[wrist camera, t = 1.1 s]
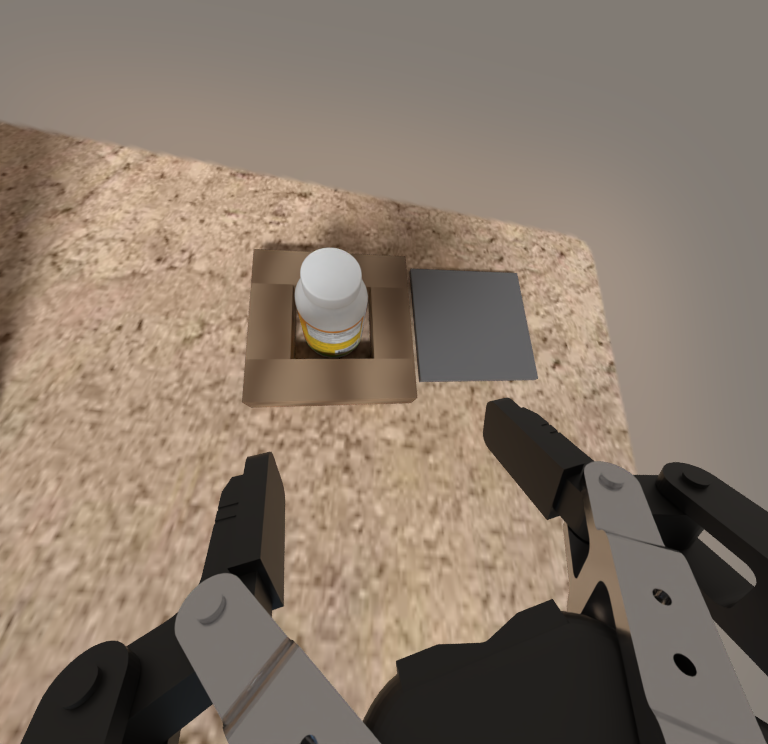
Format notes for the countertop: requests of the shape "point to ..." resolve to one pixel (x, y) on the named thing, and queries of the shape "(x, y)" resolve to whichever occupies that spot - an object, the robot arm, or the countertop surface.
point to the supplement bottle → (331, 302)
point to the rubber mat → (470, 326)
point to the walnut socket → (327, 376)
